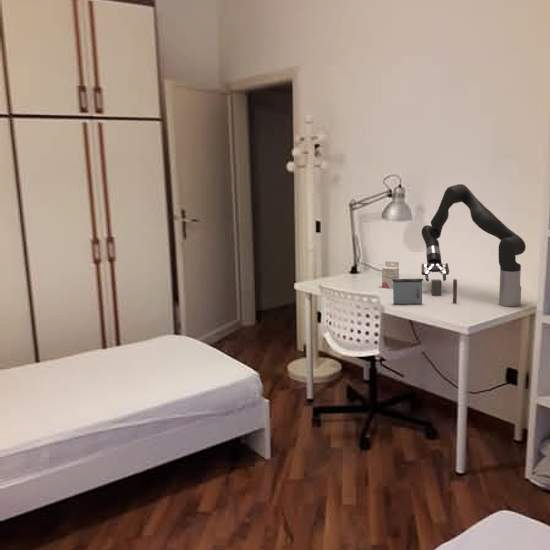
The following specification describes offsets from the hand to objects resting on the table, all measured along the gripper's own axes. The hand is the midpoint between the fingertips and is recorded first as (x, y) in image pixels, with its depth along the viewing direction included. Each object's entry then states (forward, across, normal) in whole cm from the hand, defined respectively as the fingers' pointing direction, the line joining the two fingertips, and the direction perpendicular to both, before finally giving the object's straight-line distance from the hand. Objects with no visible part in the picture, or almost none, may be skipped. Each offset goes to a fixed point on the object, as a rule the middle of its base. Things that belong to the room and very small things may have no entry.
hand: (436, 280), depth 308 cm
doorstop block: (+7, 0, +4) cm, 8 cm away
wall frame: (+20, -9, -9) cm, 23 cm away
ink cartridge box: (-6, -23, +17) cm, 30 cm away
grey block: (+21, -16, -11) cm, 29 cm away
